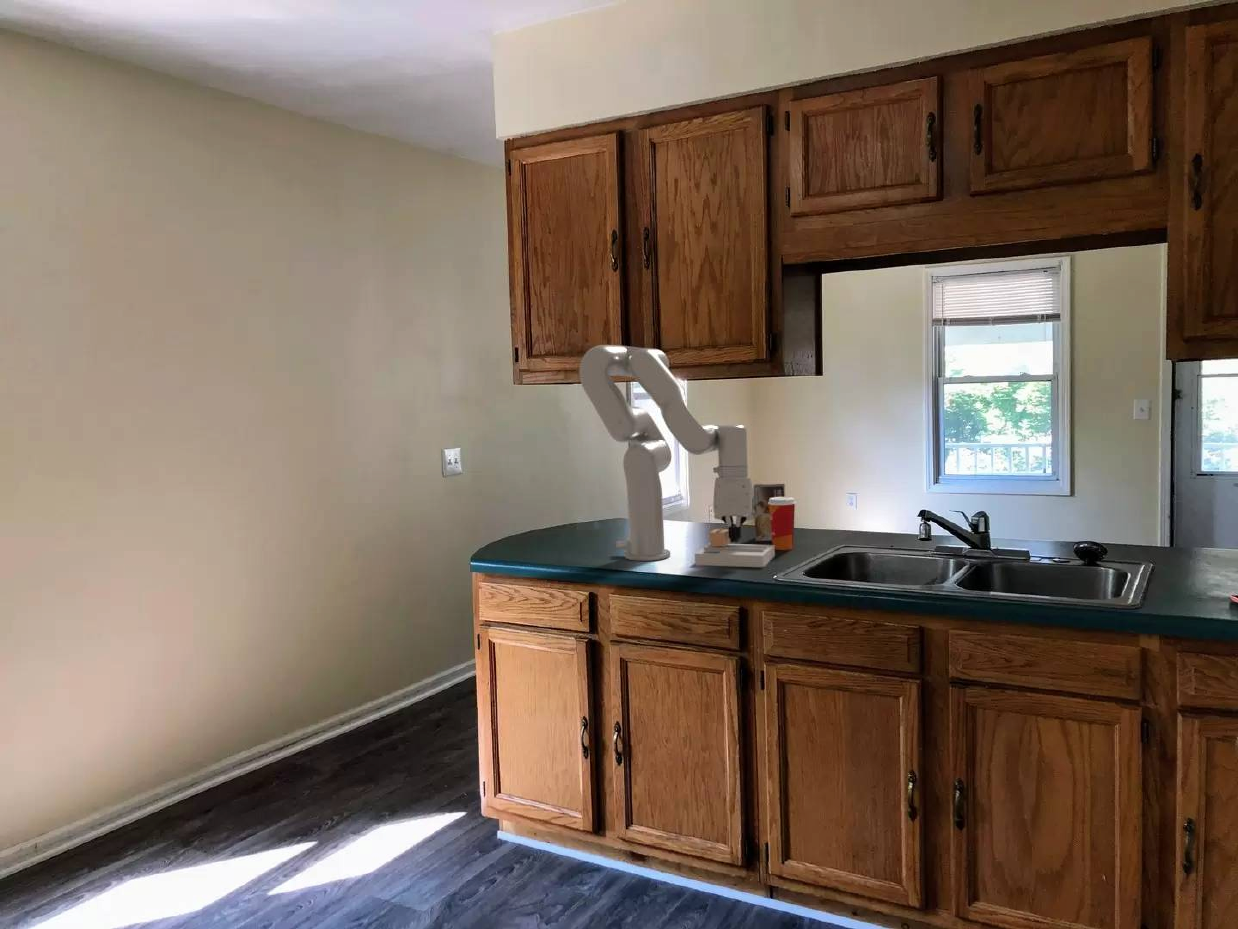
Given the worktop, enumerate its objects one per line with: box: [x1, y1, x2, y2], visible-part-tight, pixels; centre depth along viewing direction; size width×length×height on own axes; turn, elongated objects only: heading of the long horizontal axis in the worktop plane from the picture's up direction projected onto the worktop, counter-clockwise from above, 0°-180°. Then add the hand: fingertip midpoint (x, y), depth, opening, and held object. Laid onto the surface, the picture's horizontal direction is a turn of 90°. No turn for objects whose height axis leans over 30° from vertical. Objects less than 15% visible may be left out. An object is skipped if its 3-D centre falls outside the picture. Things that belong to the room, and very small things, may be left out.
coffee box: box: [752, 483, 786, 542], centre depth 272 cm, size 9×6×16 cm
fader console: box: [694, 542, 776, 568], centre depth 244 cm, size 18×14×4 cm
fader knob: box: [709, 528, 731, 547], centre depth 246 cm, size 4×5×5 cm
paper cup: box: [768, 496, 797, 551], centre depth 257 cm, size 8×8×14 cm
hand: (735, 541), depth 244 cm, fingers closed
